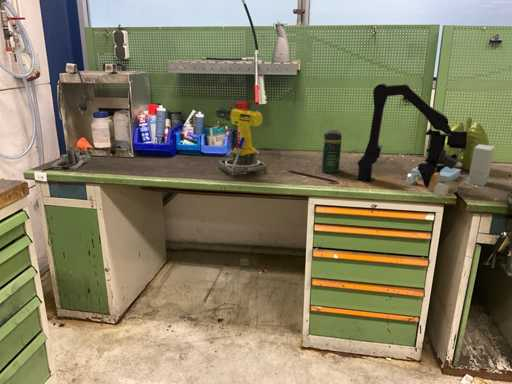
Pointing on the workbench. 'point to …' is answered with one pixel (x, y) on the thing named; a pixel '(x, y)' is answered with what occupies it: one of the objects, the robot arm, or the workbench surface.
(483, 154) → the skincare box
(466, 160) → the lungs
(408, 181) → the grey metal puck
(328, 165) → the coffee jar
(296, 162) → the workbench surface
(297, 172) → the crowbar
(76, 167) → the bike brake
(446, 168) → the parts tray
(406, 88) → the robot arm
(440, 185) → the offwhite block
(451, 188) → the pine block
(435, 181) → the orange block
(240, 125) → the cordless drill
